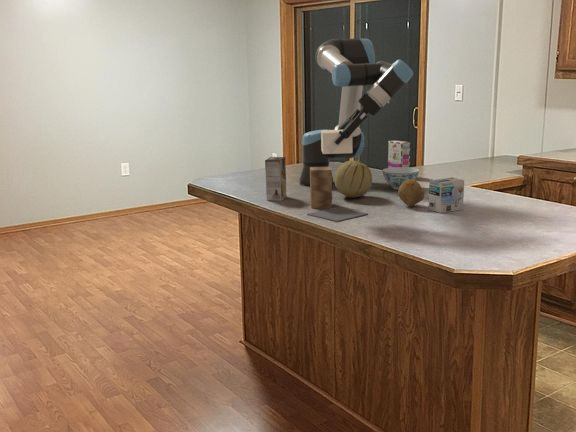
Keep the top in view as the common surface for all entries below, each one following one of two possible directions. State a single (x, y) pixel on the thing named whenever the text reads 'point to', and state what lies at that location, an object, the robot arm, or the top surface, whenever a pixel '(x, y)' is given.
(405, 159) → the candy bar box
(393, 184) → the chinaware
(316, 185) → the tin
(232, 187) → the top surface
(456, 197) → the light bulb box
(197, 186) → the top surface
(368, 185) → the cantaloupe
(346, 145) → the cream cube
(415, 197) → the coconut
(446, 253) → the top surface
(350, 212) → the mat
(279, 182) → the coffee box
